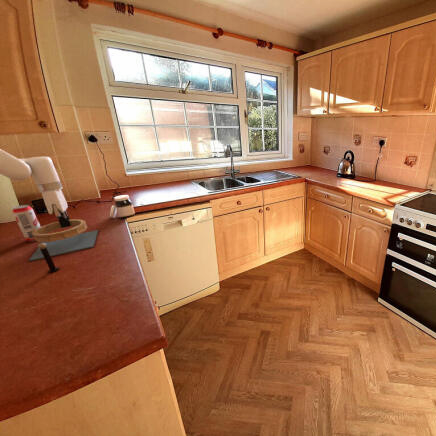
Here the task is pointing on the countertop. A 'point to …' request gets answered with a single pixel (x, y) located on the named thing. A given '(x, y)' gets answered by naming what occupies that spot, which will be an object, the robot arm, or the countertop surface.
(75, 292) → the countertop surface
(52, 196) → the robot arm
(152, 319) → the countertop surface
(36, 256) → the mat
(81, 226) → the hoop
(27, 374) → the countertop surface
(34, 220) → the beer can
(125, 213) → the spread jar
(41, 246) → the post stand
